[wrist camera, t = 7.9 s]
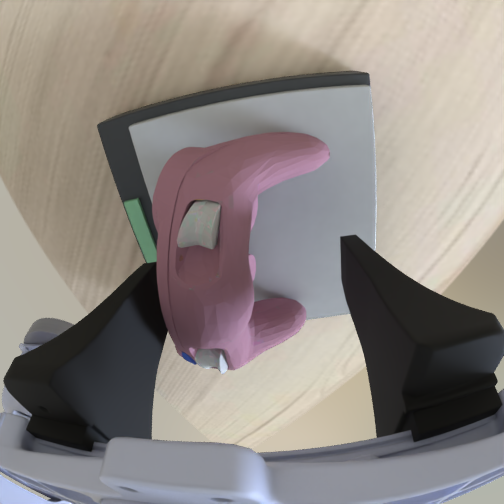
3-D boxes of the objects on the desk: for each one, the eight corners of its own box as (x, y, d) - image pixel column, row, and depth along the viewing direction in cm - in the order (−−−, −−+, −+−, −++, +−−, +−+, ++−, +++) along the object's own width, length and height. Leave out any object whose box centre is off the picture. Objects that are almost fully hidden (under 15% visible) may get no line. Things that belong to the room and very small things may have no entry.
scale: (182, 309, 21) (174, 338, 19) (113, 116, 14) (89, 127, 12) (364, 287, 20) (374, 316, 18) (356, 70, 13) (374, 73, 11)
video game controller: (235, 116, 13) (106, 161, 8) (338, 130, 11) (252, 188, 6) (236, 292, 19) (159, 377, 14) (310, 318, 17) (247, 423, 12)
